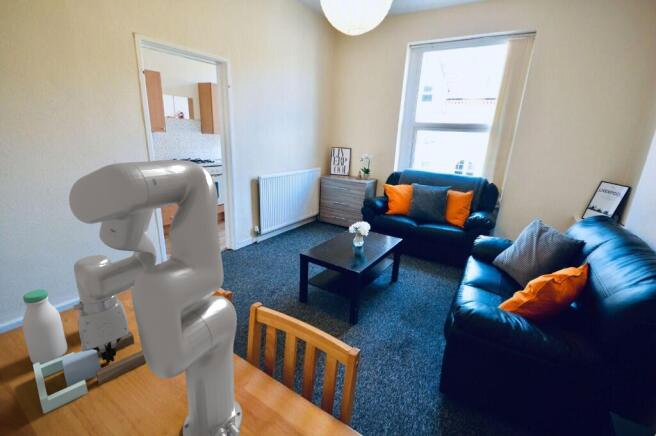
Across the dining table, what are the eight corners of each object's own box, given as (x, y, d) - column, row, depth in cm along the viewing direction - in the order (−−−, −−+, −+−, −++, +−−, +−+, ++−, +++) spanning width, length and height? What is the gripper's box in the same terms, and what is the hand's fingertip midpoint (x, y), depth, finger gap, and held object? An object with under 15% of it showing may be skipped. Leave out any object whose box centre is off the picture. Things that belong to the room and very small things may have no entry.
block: (102, 374, 78) (99, 360, 77) (67, 388, 74) (64, 373, 72) (97, 359, 83) (95, 346, 82) (65, 372, 78) (61, 358, 77)
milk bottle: (70, 355, 84) (56, 293, 78) (32, 370, 78) (14, 304, 73) (66, 342, 89) (52, 283, 83) (30, 354, 83) (13, 292, 78)
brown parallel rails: (146, 362, 83) (145, 353, 82) (99, 384, 75) (97, 375, 74) (132, 339, 91) (131, 331, 90) (87, 358, 83) (86, 349, 82)
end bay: (87, 392, 72) (85, 379, 71) (43, 414, 67) (40, 400, 66) (75, 360, 82) (73, 348, 81) (36, 376, 76) (32, 364, 75)
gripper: (64, 320, 69) (77, 382, 74) (136, 297, 80) (144, 353, 85) (59, 307, 73) (72, 366, 79) (128, 287, 84) (135, 340, 89)
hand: (109, 359), depth 82 cm, fingers closed
